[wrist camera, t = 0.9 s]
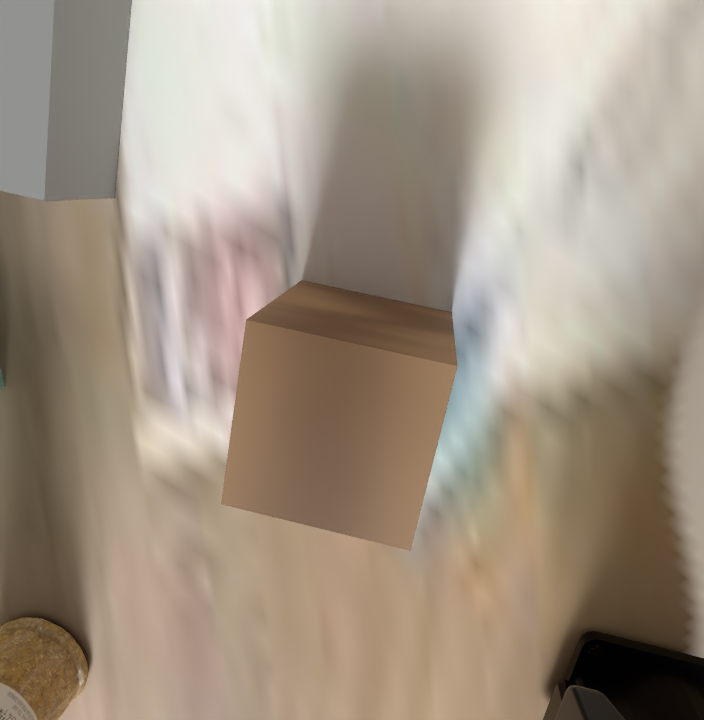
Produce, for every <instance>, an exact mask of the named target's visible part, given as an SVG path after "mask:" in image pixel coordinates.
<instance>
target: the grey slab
mask: <svg viewBox="0 0 704 720" xmlns="http://www.w3.org/2000/svg"><path fill="white" fill-rule="evenodd" d="M131 4H132V0H0V191H4V192H8V193H13V194H17V195H21V196H25V197H30V198H34V199H38V200H42V201H56V200H79V199H103V198H115V190H116V178H117V167H118V155H119V143H120V132H121V120H122V108H123V97H124V85H125V73H126V62H127V50H128V39H129V27H130V15H131Z"/></svg>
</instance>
